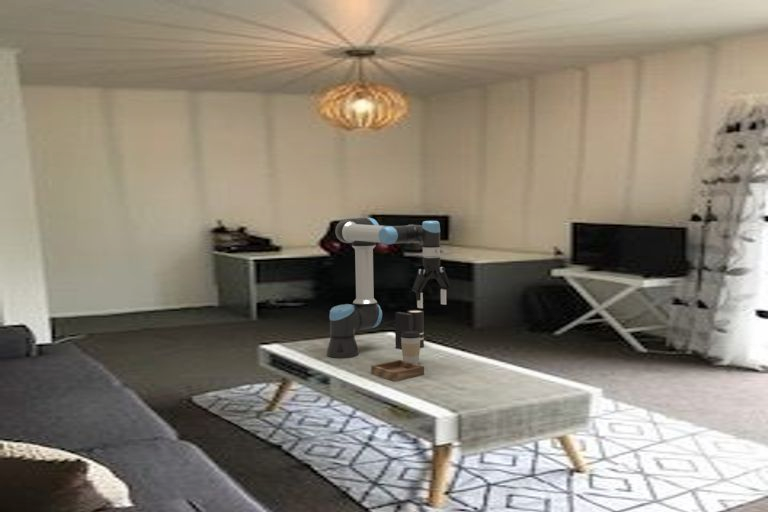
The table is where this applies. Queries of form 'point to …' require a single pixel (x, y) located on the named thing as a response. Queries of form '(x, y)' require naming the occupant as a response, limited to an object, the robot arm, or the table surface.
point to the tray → (397, 370)
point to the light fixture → (409, 325)
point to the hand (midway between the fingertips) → (431, 306)
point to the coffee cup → (410, 346)
